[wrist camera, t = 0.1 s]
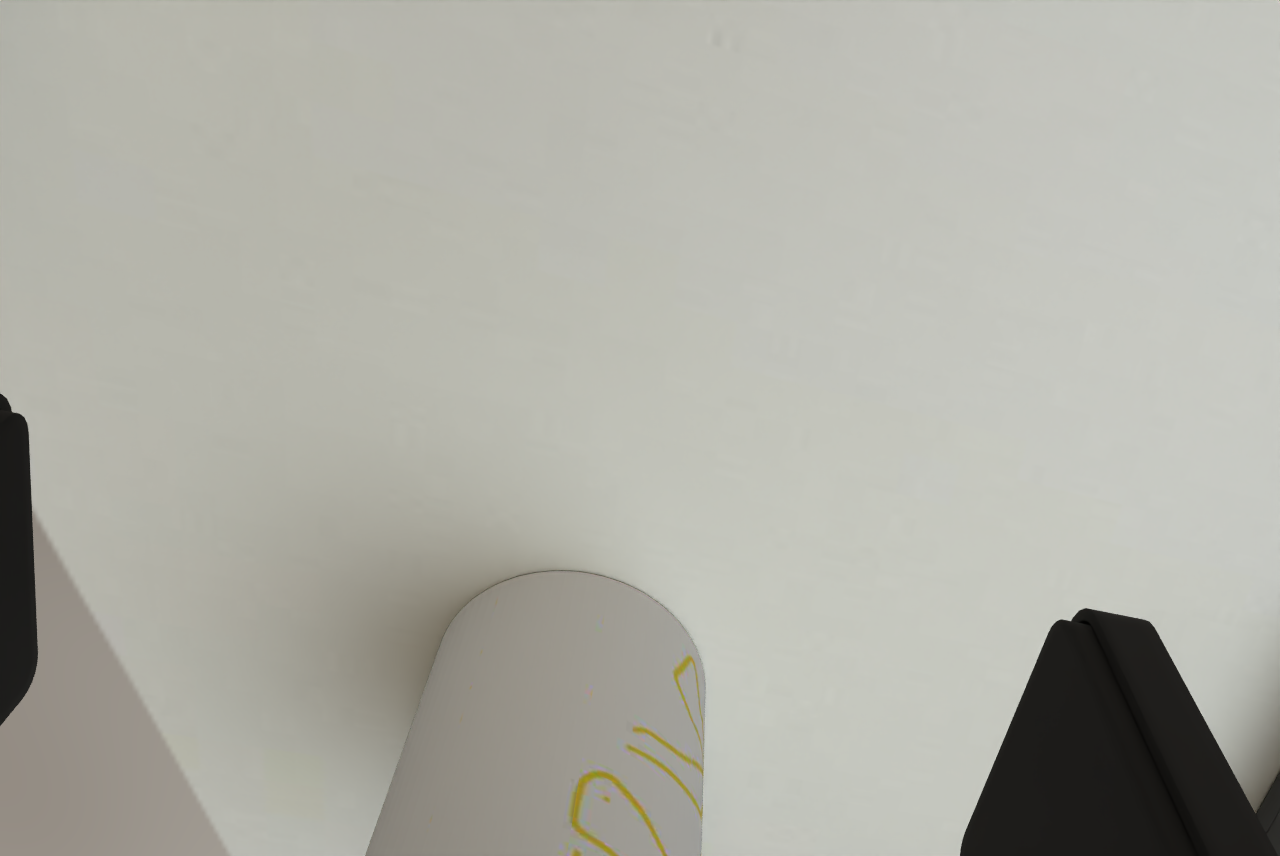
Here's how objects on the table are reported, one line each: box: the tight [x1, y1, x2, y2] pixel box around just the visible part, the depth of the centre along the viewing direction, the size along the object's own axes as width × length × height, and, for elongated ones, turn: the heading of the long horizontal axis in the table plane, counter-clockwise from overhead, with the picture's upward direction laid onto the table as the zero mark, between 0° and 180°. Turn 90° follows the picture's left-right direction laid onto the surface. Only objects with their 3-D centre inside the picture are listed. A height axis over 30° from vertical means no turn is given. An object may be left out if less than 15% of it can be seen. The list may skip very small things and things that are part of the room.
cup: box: [365, 571, 705, 856], centre depth 31 cm, size 8×8×12 cm
